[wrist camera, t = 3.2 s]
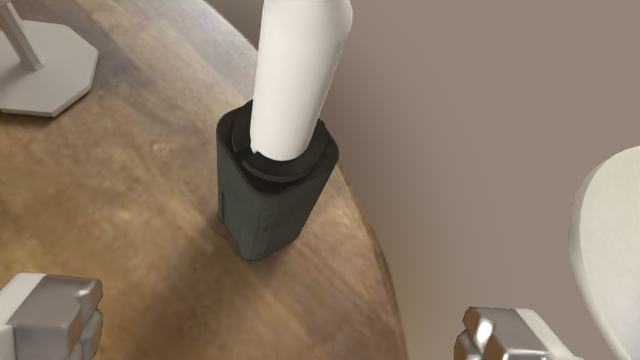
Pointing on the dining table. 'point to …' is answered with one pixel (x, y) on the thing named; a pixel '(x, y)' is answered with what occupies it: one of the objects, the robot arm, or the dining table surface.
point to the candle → (281, 127)
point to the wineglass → (41, 65)
